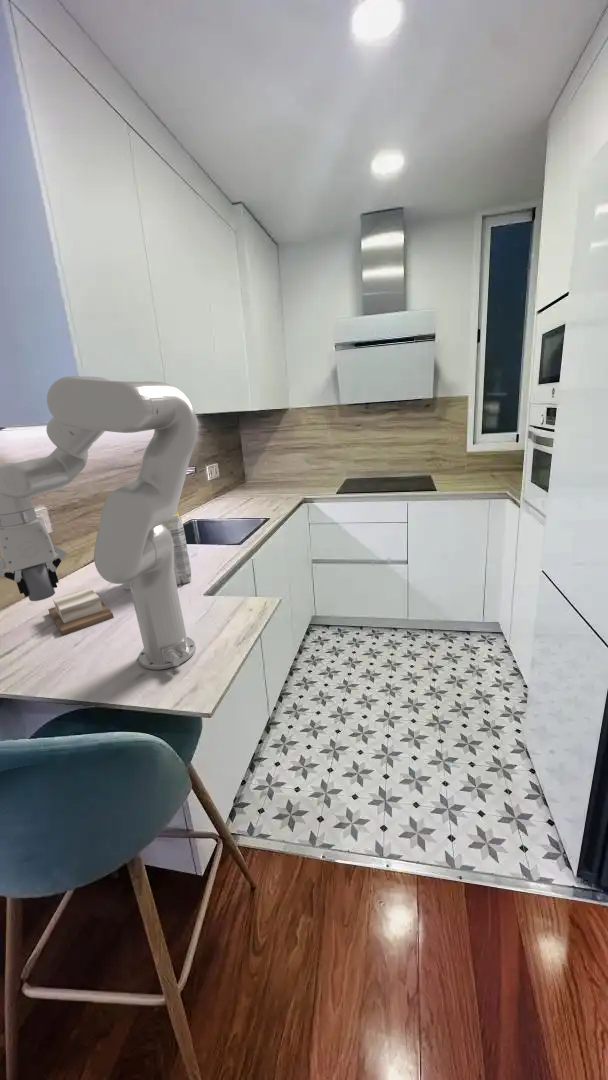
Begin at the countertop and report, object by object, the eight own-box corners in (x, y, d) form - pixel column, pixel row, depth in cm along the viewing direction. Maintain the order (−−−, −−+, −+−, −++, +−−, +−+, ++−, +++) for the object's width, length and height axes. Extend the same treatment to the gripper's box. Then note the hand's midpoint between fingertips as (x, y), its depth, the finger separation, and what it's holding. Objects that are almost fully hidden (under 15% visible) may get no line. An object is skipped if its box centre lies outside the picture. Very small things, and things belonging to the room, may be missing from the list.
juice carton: (191, 574, 148) (178, 505, 141) (193, 582, 141) (181, 510, 134) (162, 580, 146) (148, 510, 138) (164, 589, 138) (149, 515, 131)
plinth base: (113, 617, 122) (109, 599, 121) (62, 635, 115) (57, 616, 113) (96, 598, 136) (91, 582, 134) (49, 613, 128) (44, 596, 127)
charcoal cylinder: (57, 595, 105) (47, 564, 103) (31, 603, 102) (20, 571, 100) (52, 589, 110) (43, 559, 107) (27, 596, 106) (17, 566, 104)
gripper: (-28, 530, 92) (0, 608, 98) (61, 511, 102) (82, 582, 107) (-29, 525, 98) (-3, 599, 103) (55, 507, 108) (75, 575, 113)
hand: (40, 590), depth 105 cm, fingers closed on charcoal cylinder, 5 cm apart
